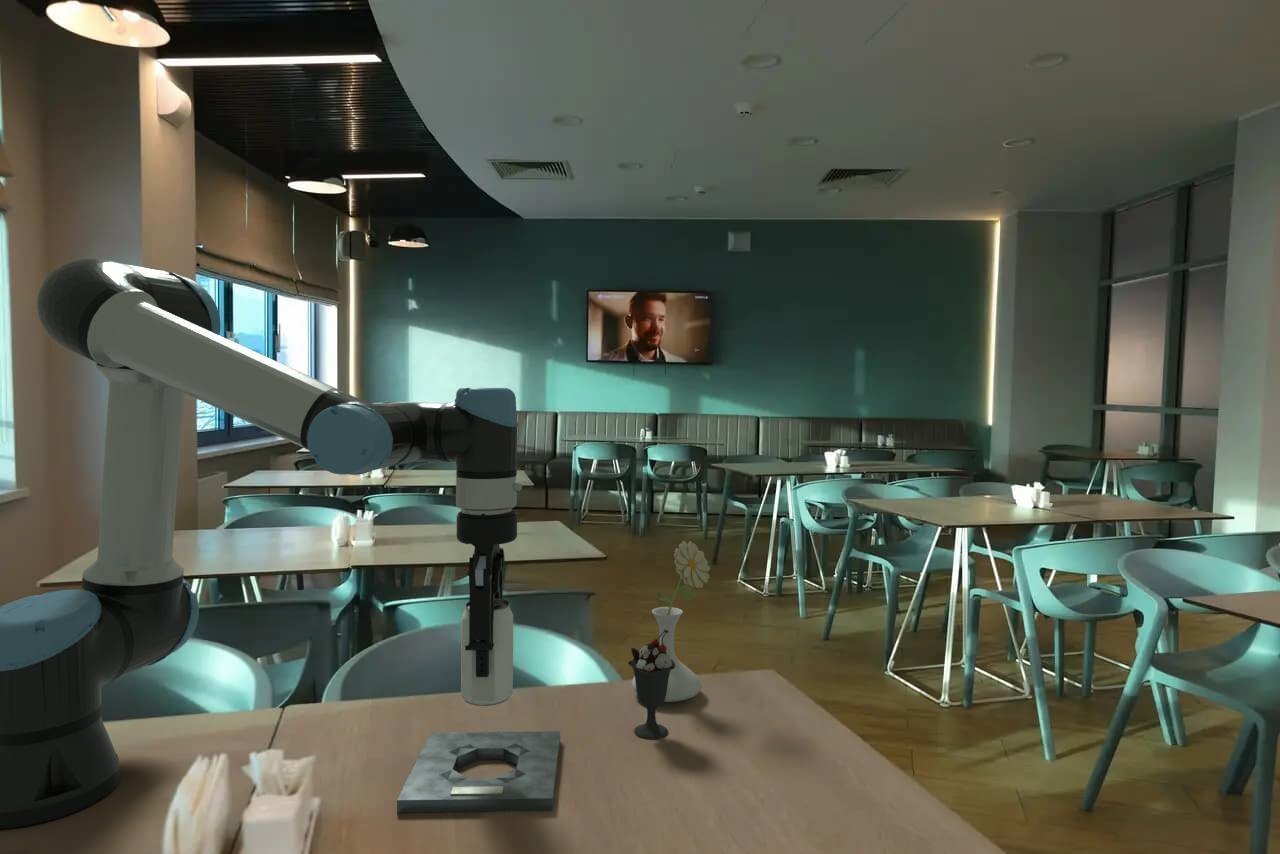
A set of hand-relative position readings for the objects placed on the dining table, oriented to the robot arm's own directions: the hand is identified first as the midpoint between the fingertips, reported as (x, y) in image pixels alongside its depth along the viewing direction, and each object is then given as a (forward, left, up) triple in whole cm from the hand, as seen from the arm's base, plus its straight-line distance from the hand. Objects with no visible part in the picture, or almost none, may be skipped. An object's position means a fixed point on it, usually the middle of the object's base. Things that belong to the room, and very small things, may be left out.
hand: (487, 689), depth 100 cm
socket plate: (0, 0, -11) cm, 11 cm away
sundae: (+22, +12, -11) cm, 27 cm away
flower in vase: (+26, +26, -11) cm, 38 cm away
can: (0, 0, -1) cm, 1 cm away
